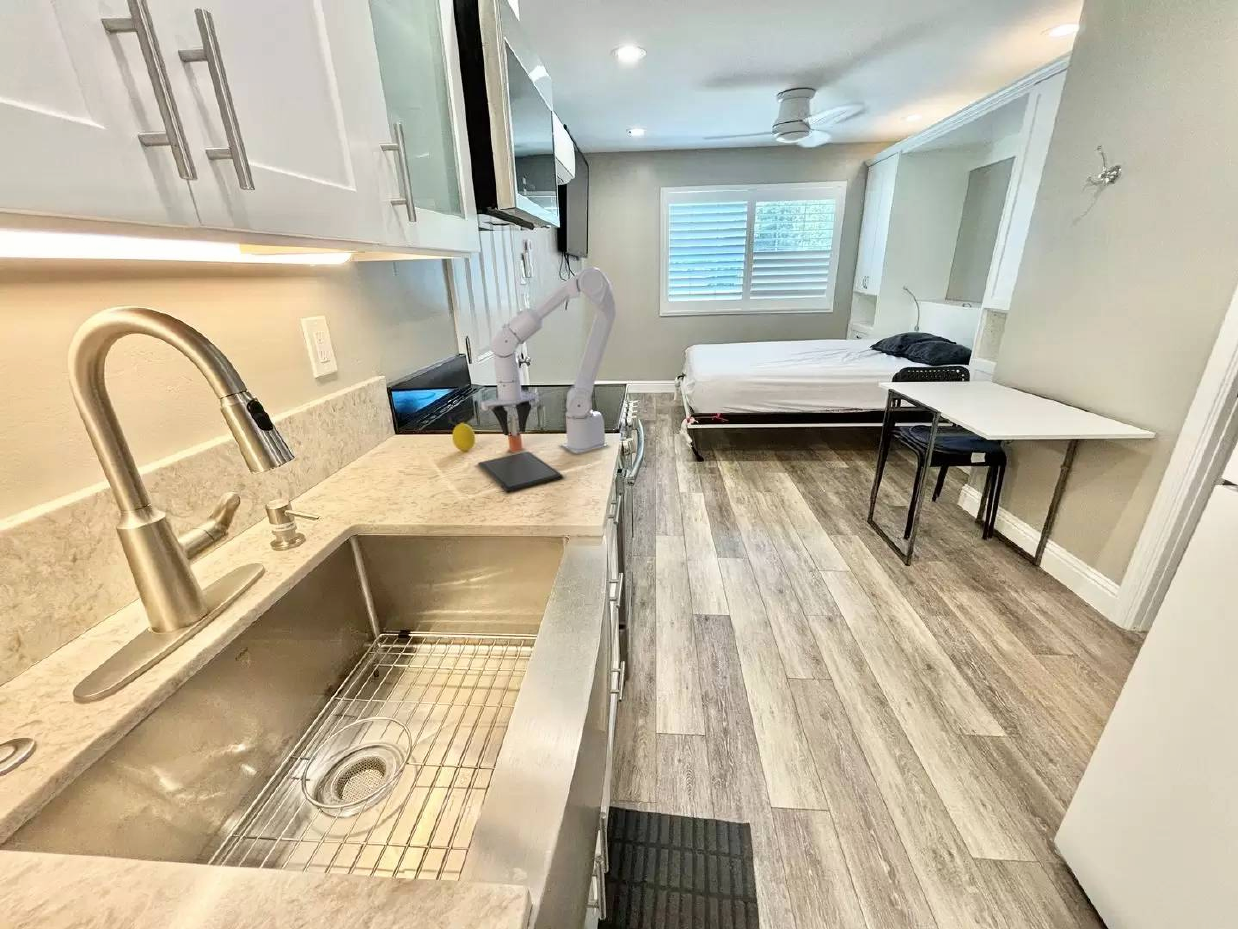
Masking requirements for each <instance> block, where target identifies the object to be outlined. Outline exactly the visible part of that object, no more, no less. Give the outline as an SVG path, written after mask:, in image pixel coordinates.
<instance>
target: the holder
mask: <svg viewBox="0 0 1238 929" xmlns="http://www.w3.org/2000/svg"><path fill="white" fill-rule="evenodd" d="M507 440H508V448H509V451H510V452H520V451H522V450H523V442H522V441H523V440H522V433H521V432H517V436H512V433H511V432H510V433H509V435H508V436H507Z"/></svg>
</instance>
